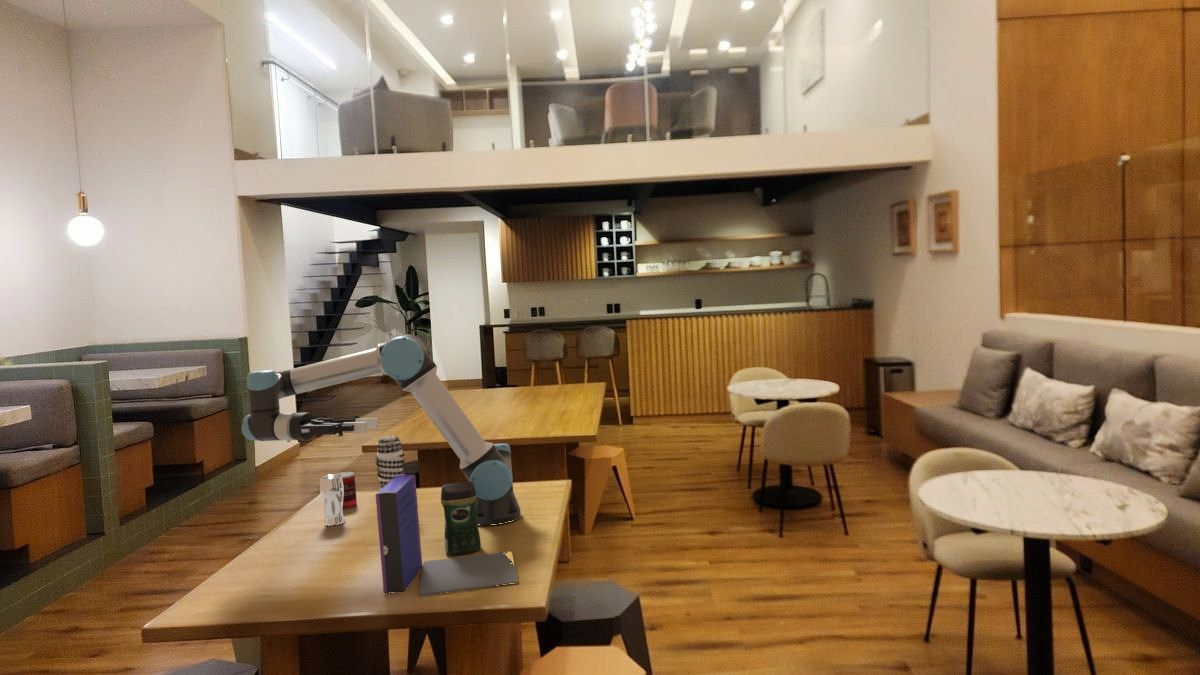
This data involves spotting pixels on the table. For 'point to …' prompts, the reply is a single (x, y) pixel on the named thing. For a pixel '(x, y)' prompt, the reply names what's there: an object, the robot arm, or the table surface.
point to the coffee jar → (460, 518)
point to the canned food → (349, 489)
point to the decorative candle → (389, 459)
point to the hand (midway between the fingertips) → (371, 425)
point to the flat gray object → (466, 573)
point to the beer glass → (332, 498)
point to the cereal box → (399, 533)
